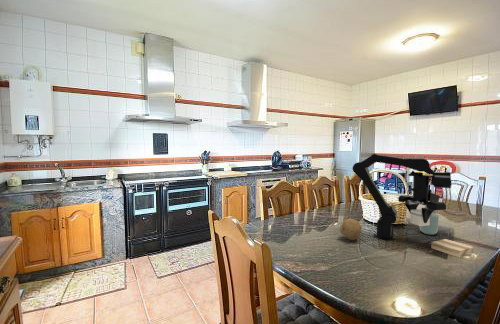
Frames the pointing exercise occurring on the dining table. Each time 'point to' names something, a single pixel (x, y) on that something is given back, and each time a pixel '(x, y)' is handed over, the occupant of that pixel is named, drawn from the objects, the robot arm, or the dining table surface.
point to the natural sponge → (350, 229)
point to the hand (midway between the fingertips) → (419, 221)
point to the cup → (431, 225)
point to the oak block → (452, 248)
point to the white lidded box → (418, 218)
